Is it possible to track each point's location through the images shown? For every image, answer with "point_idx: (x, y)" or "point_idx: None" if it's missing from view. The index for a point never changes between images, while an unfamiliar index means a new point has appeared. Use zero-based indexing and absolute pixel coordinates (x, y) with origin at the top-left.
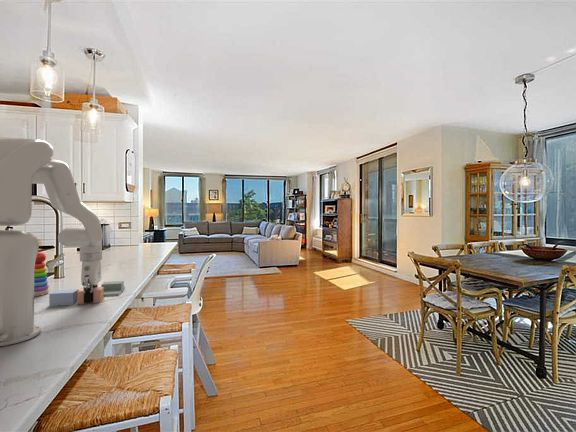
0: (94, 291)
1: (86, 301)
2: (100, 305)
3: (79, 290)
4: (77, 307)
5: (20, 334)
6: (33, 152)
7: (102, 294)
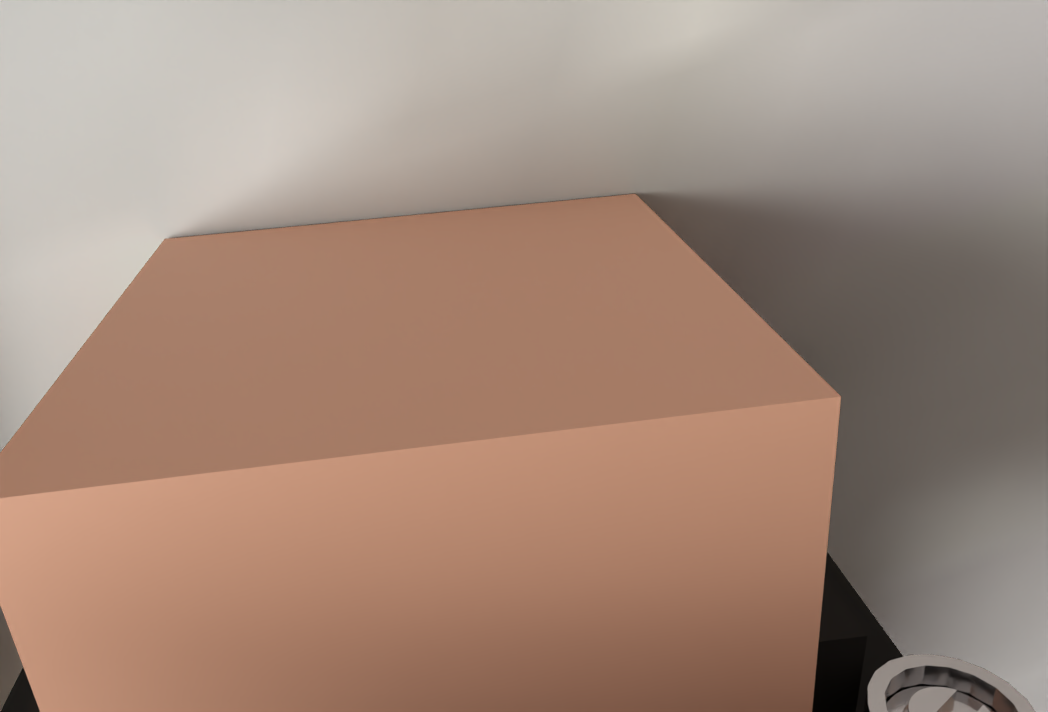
0: (798, 633)
1: None
2: (1040, 70)
3: None
4: (943, 619)
5: None
6: None
7: (345, 295)
